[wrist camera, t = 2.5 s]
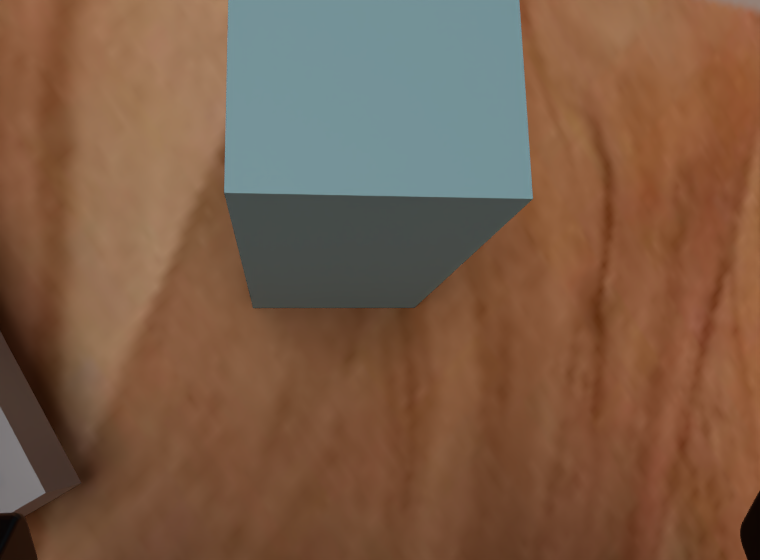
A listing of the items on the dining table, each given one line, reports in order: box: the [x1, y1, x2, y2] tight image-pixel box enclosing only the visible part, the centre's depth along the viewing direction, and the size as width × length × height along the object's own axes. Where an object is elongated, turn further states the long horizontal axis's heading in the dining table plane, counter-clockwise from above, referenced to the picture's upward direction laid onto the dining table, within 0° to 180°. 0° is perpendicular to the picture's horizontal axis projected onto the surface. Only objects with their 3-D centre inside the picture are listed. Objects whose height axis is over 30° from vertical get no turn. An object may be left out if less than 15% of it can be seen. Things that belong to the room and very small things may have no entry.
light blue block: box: [224, 0, 533, 308], centre depth 17 cm, size 5×5×11 cm
